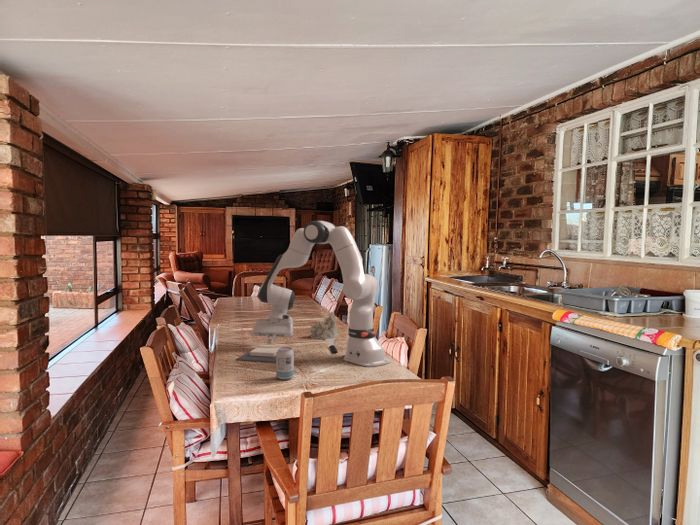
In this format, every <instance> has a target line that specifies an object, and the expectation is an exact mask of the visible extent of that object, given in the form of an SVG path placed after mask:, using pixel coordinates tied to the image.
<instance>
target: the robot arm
mask: <svg viewBox="0 0 700 525" xmlns="http://www.w3.org/2000/svg"><path fill="white" fill-rule="evenodd" d="M315 244H319V245H326V244H329V245H330V246H331V248H332V250H333V253H334V255H335V258H336V260H337V262H338V264H339V267H340V271H341V276H342V282H343V286H342V292H343V295H344V296H345V297H346V298H347V299H349V300H351V302H352V304H351V305H350V306H351V307H350V309H349V317H348V319H349V320H348V321H349V323H348V324H349V326H348V330H347V334H348V340H347V341H346V346H345V347H346V348H345V356H344V357H343V361H345V362H348V361H349V363H352V364H356V365H358V366H359V365H360V366H362V367H369V368H370V367H372V368H373V367H378V366H384V365H388V364H390V363H391V359H389V358H387V357H386V355H385V354H386V353H385V349H384V346H383V345H381V343H380V342H379V339H377V338H376V335H377V331H375V329H374V307H375V303H376V302H375V301H376V296H377V292H378V289H379V281H378V279H377V277H375V276H374V275H371V274H368V273H365V272H364V265H363V257H362V254H361V252H360V249H359V248H358V246H357V242H356V241H355V238H354V237H353V235H352V234H351V232H350V230H349V228H347V227H346V226H344V225H343V226H342V225H340V226H336V225H335V223H332V222H330V221H325V220H312V221H309V222H307V224H306V225H305V226H304V227H302V228H301V227H300V228H298V229H296V231H295V233H294V234H293V236H292V238H291V241H290V243H289V246H288V248H287V249H286V251H285V252H284V253H283V254H280V255H278V257H277V258H276V259H275V262H274V263H273V264H272V267H271V269H269V272H268V274H267V275H266V277H265V279H264V281H263V283H261V285H260V286H259V289H258V291H257V298H258V299H259V301H260V302H261V303H264V304H270V305H271V307H270V308H271V309H270V310H269V313H268V315H267V318H258V319H257V320H256V321H255V323H254V326H253V328H252V333H253V335H254V336H256V337H266V342H265V343H266V344H274V342H275V341H276V340H277V338H291V337H292V336H293V335H294V320H293V318H292V317H291V316H290V315H289V314H287V313H288V311H289V310H291V309H292V308H293V306H294V302H295V298H296V294H295V292H294V290H291V289H290V288H286V287H283V286H279V285H276V284H274V281H275V279H276V277H277V275H278V274H279V272H281V270H284V269H293V268H294V269H295V268H300V267H302V266H304V265H306V264H307V262H308V260H309V258H310V256H311V252H312V249H313V247H314V246H315ZM271 337H272V338H271Z"/></svg>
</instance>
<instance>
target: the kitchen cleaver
mask: <svg viewBox="0 0 700 525" xmlns="http://www.w3.org/2000/svg"><path fill="white" fill-rule="evenodd" d="M335 340H336V338H329V339H326V342H327V344H328V347H329V348H328V349H330V351H331V353H332V354H331V355H337V354H336V353H338V354H339V352H338V350H337V348H336V346H335Z"/></svg>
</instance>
